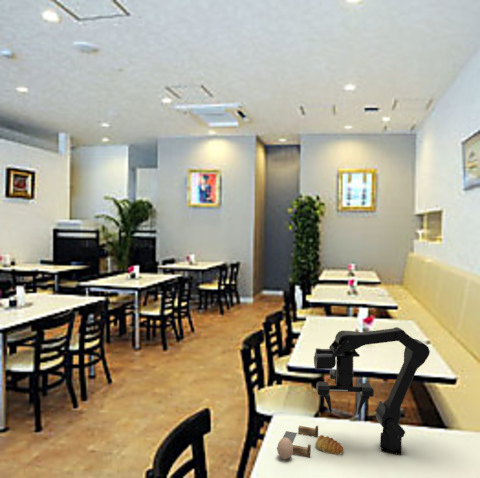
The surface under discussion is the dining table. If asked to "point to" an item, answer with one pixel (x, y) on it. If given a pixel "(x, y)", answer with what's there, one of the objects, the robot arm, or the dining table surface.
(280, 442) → the egg
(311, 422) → the dining table surface
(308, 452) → the wooden blocks
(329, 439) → the pastry
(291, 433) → the mat
